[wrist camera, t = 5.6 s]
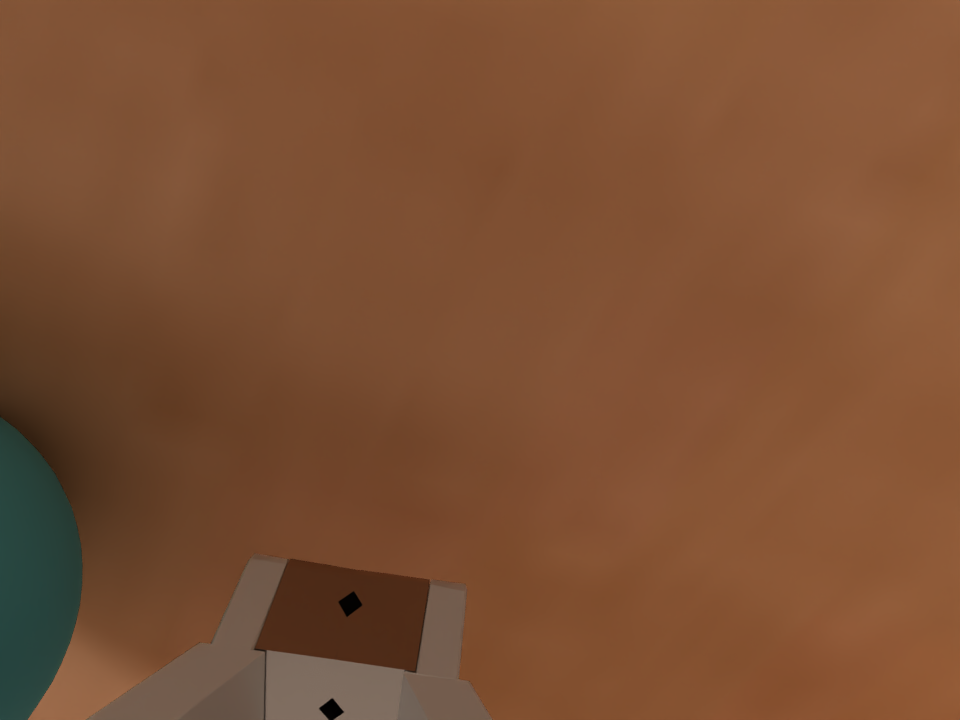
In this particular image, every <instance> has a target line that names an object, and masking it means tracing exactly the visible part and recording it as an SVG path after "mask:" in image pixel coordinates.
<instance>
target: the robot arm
mask: <svg viewBox="0 0 960 720" xmlns="http://www.w3.org/2000/svg"><path fill="white" fill-rule="evenodd" d="M429 582H430V579H423V578H416V577H408V576H401V575H394V574H386V573H379V572H372V571H364V570H361V571H360V570H355V569H349V568H343V567H337V566H331V565H326V564H320V563H314V562H308V561H302V560H296V559H285V558H279V557H274V556H268V555H262V554H257V553H254V555H253V556H252V557H251V558H250V559H249V560H248V562H247V564H246V566H245V568H244V570H243V573H242V575H241V577H240V579H239V582H238V584H237V586H236V588H235V590H234V593H233V595H232V597H231V599H230V602H229V604H228V606H227V608H226V610H225V613H224V615H223V617H222V619H221V622H220V624H219V626H218V628H217V630H216V633H215V635H214V637H213V639H212V642H211V644H208V643H200V642H199V643H198V644H196V645H195V646H194V647H192V648H191V649H189V650H188V651H186V652H185V653H183V654H182V655H180V656H179V657H177V658H176V659H174V660H173V661H171V662H170V663H169V664H167V665H166V666H164V667H163V668H161V669H160V670H158V671H157V672H155V673H154V674H152V675H151V676H149V677H148V678H146V679H145V680H143V681H142V682H141V683H139V684H138V685H136V686H135V687H133V688H132V689H130V690H129V691H127V692H126V693H124V694H123V695H121V696H120V697H118V698H117V699H116V700H114V701H113V702H111V703H110V704H108V705H107V706H105V707H104V708H102V709H101V710H99V711H98V712H96V713H95V714H93V715H92V716H90V717H89V718H88V719H86V720H493V719H492V718H491V716H490V714H489V713H488V711H487V709H486V708H485V706H484V704H483V703H482V701H481V699H480V698H479V696H478V695H477V693H476V691H475V690H474V688H473V686H472V685H471V683H470V681H465V680H460V679H459V671H460V660H461V650H462V639H463V629H464V618H465V608H466V597H467V587H466V584H462V583H455V582H447V581H440V580H432V579H431V582H430V585H429ZM428 590H429V592H428ZM427 597H428V598H427ZM426 604H427V605H426ZM425 611H426V612H425ZM423 624H424V625H423ZM422 631H423V632H422Z"/></svg>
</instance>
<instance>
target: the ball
mask: <svg viewBox="0 0 960 720" xmlns="http://www.w3.org/2000/svg"><path fill="white" fill-rule="evenodd" d="M81 590H82V553H81V543H80V538H79V533H78V528H77V524H76V521H75V517H74V514H73V510H72V507H71V505H70V503H69V501H68V499H67V497H66V494H65V492H64V490H63V488H62V486H61V484H60V482H59V480H58V478H57V476H56V474H55V473H54V471H53V470H52V469H51V467H50V466H49V465H48V463H47V462H46V461H45V459H44V458H43V456H42V455H41V454H40V453H39V452H38V451H37V449H36V448H35V447H34V446H33V445H32V444H31V443H30V442H29V441H28V440H27V439H26V438H25V437H24V436H23V435H22V434H21V433H20V432H19V431H18V430H17V429H16V428H14V427H13V426H12V425H10V424H9V423H8V422H6V421H5V420H4V419H2V418H1V417H0V720H28V718H29V717H30V715H31V714H32V712H33V711H34V709H35V708H36V706H37V705H38V703H39V702H40V700H41V699H42V697H43V696H44V694H45V693H46V691H47V689H48V688H49V686H50V685H51V683H52V681H53V679H54V677H55V675H56V673H57V671H58V669H59V667H60V665H61V663H62V660H63V658H64V656H65V653H66V651H67V649H68V646H69V644H70V641H71V637H72V634H73V631H74V627H75V624H76V619H77V615H78V610H79V606H80V599H81Z"/></svg>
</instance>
